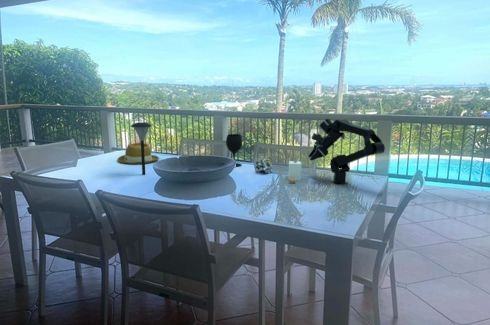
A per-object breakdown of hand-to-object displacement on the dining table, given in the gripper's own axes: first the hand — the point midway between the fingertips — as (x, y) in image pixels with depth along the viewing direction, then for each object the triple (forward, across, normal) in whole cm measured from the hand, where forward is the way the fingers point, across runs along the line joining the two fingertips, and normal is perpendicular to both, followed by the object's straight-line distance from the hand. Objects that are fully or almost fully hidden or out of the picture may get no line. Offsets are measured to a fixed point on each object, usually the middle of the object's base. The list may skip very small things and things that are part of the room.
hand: (309, 158), depth 203 cm
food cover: (+14, 0, +3) cm, 14 cm away
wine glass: (+41, -33, -24) cm, 58 cm away
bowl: (+15, +9, +2) cm, 17 cm away
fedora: (+88, -40, -71) cm, 120 cm away
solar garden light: (+76, -1, -58) cm, 95 cm away
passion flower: (+27, -15, -9) cm, 32 cm away
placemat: (+15, +4, +3) cm, 16 cm away
